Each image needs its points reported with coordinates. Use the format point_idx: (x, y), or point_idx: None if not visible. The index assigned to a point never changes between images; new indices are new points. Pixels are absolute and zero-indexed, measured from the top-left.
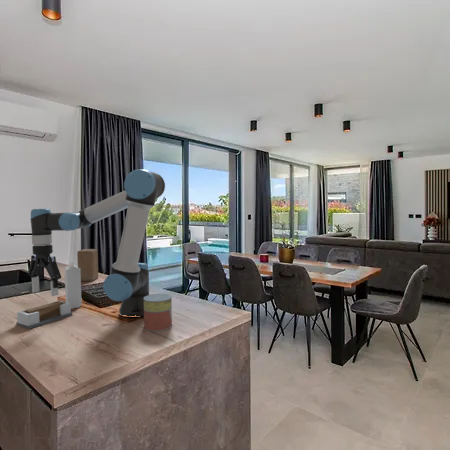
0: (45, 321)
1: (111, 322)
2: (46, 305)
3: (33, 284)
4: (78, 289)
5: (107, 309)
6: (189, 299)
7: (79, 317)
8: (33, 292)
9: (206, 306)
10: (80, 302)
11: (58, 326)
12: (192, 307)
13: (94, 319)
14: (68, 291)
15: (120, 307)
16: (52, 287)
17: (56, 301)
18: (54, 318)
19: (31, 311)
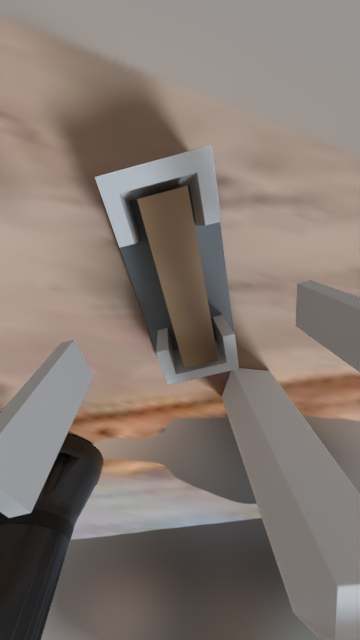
0: (127, 266)
1: None
2: (191, 306)
3: (356, 312)
4: (244, 450)
5: (140, 429)
6: (86, 532)
7: (121, 363)
8: (298, 284)
9: None
10: (226, 406)
11: (66, 288)
12: None
13: None
14: (256, 422)
15: (74, 456)
16: (22, 397)
17: (235, 356)
18: (142, 302)
19: (141, 214)
